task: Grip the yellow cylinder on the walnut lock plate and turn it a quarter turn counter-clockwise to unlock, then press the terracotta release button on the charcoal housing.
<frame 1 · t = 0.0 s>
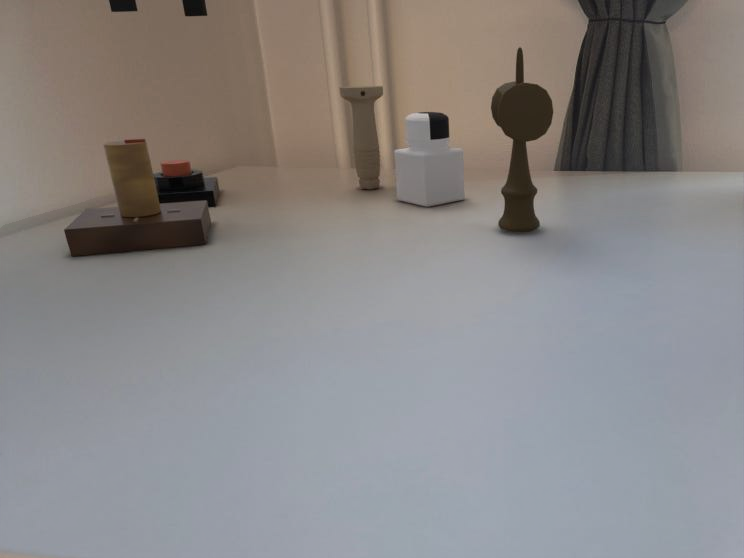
hand: (163, 14, 80), 24 cm above the table, tool pointing down, fingers open, 13 cm apart
lock plate: (146, 238, 81), on the table
medicine bottle: (431, 201, 98), on the table
kendama: (518, 231, 82), on the table
yellow cylinder: (132, 177, 78), point 7 cm above the table, hinge at 0.0°
handle: (369, 189, 108), on the table
release housing: (182, 200, 102), on the table
release button: (176, 168, 100), point 5 cm above the table, slide at 0.1 cm
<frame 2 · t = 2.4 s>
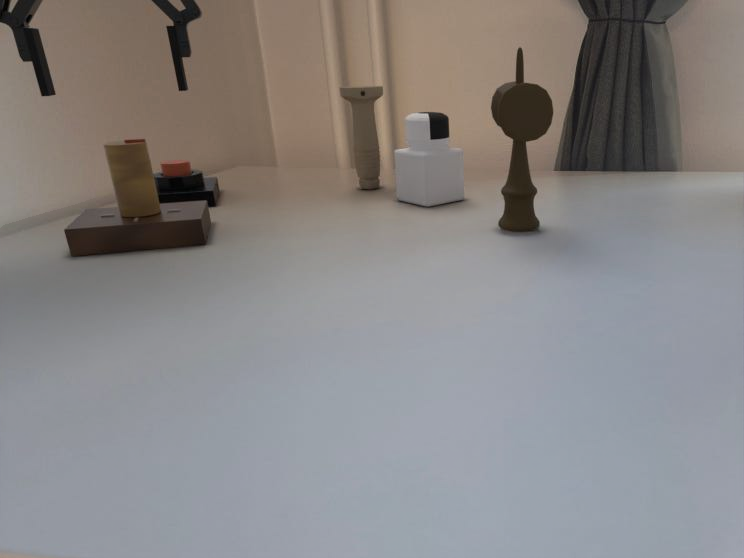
hand: (117, 93, 75), 16 cm above the table, tool pointing down, fingers open, 13 cm apart
nothing on the table moved.
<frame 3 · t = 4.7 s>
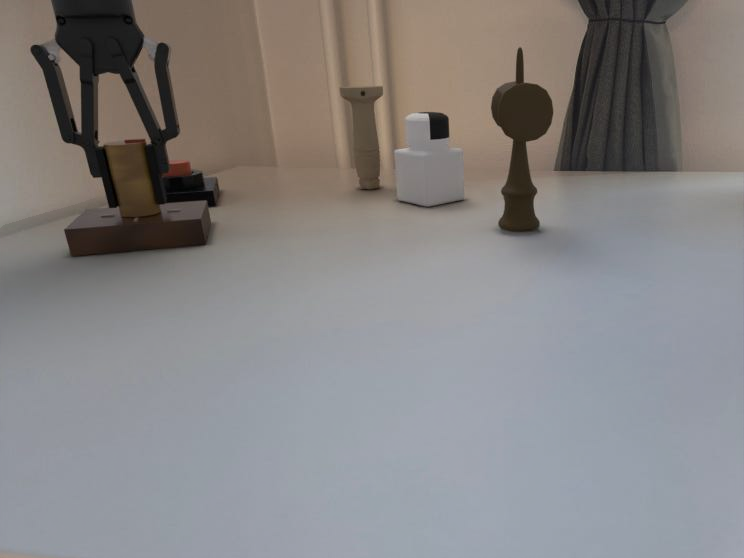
hand: (138, 203, 79), 4 cm above the table, tool pointing down, fingers closed on yellow cylinder, 4 cm apart
yellow cylinder: (132, 177, 78), point 7 cm above the table, hinge at -0.1°, touching gripper
everything else where it was.
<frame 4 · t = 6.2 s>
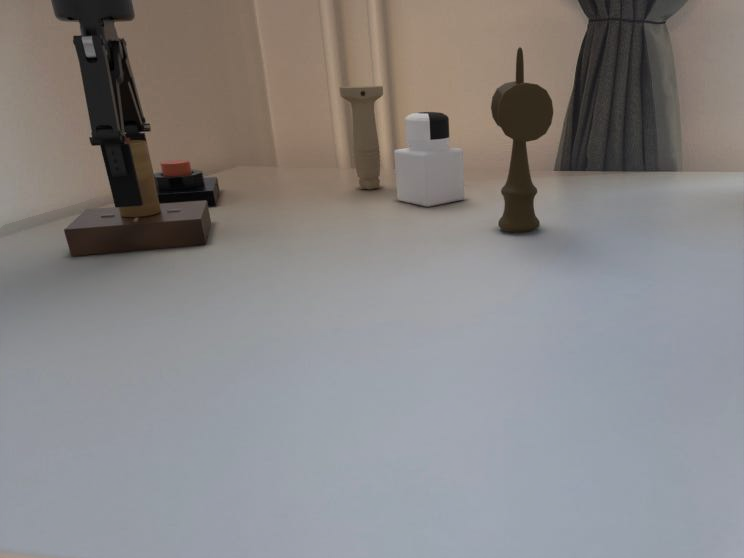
hand: (137, 196, 79), 5 cm above the table, tool pointing down, fingers open, 10 cm apart
yellow cylinder: (132, 177, 78), point 7 cm above the table, hinge at 90.0°
everything else where it was.
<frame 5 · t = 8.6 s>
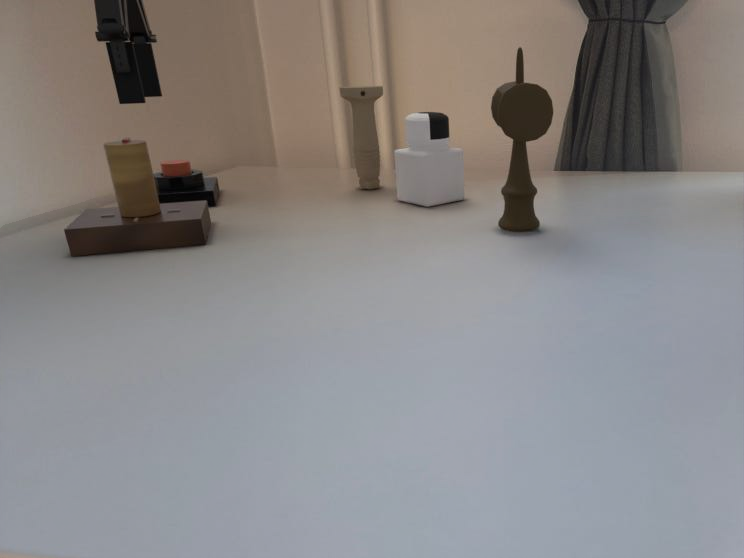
hand: (142, 100, 85), 15 cm above the table, tool pointing down, fingers open, 13 cm apart
nothing on the table moved.
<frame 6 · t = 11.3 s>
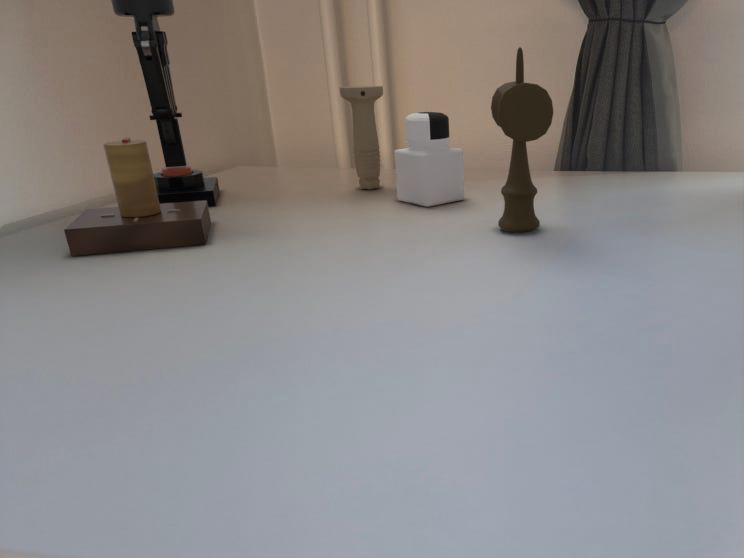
hand: (176, 165, 99), 5 cm above the table, tool pointing down, fingers closed
release button: (177, 174, 100), point 4 cm above the table, slide at -0.7 cm, touching gripper
everything else where it was.
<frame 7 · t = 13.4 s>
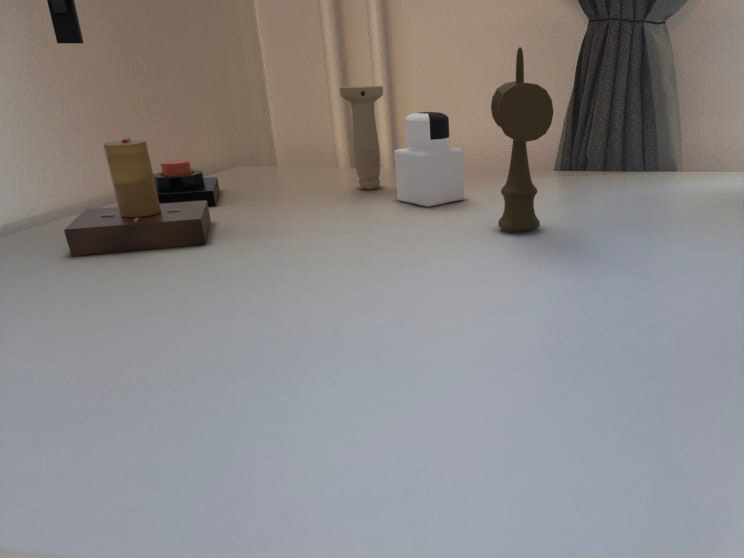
hand: (70, 43, 86), 22 cm above the table, tool pointing down, fingers closed
release button: (176, 168, 100), point 5 cm above the table, slide at 0.1 cm
everything else where it was.
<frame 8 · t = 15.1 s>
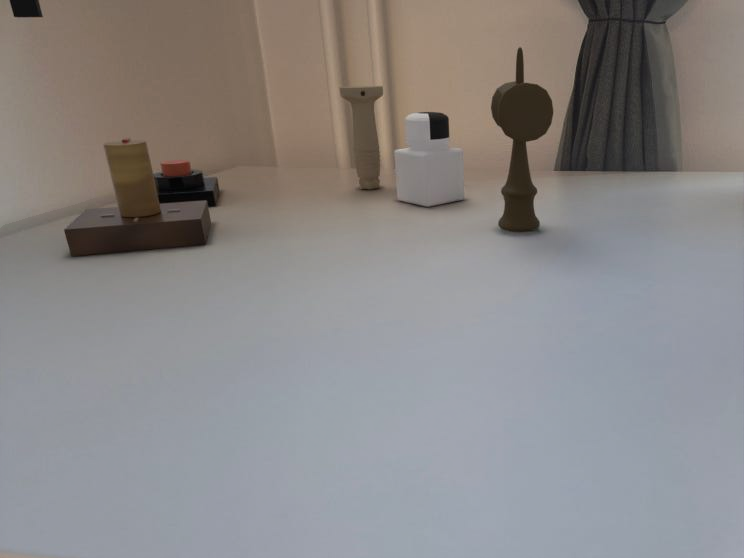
hand: (28, 16, 81), 24 cm above the table, tool pointing down, fingers closed
nothing on the table moved.
at the end: yellow cylinder at +90° (first picture: +0°); release button pushed in 1.0 cm at the most during the clip, back to where it started at the end; release button slide at 0.1 cm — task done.
